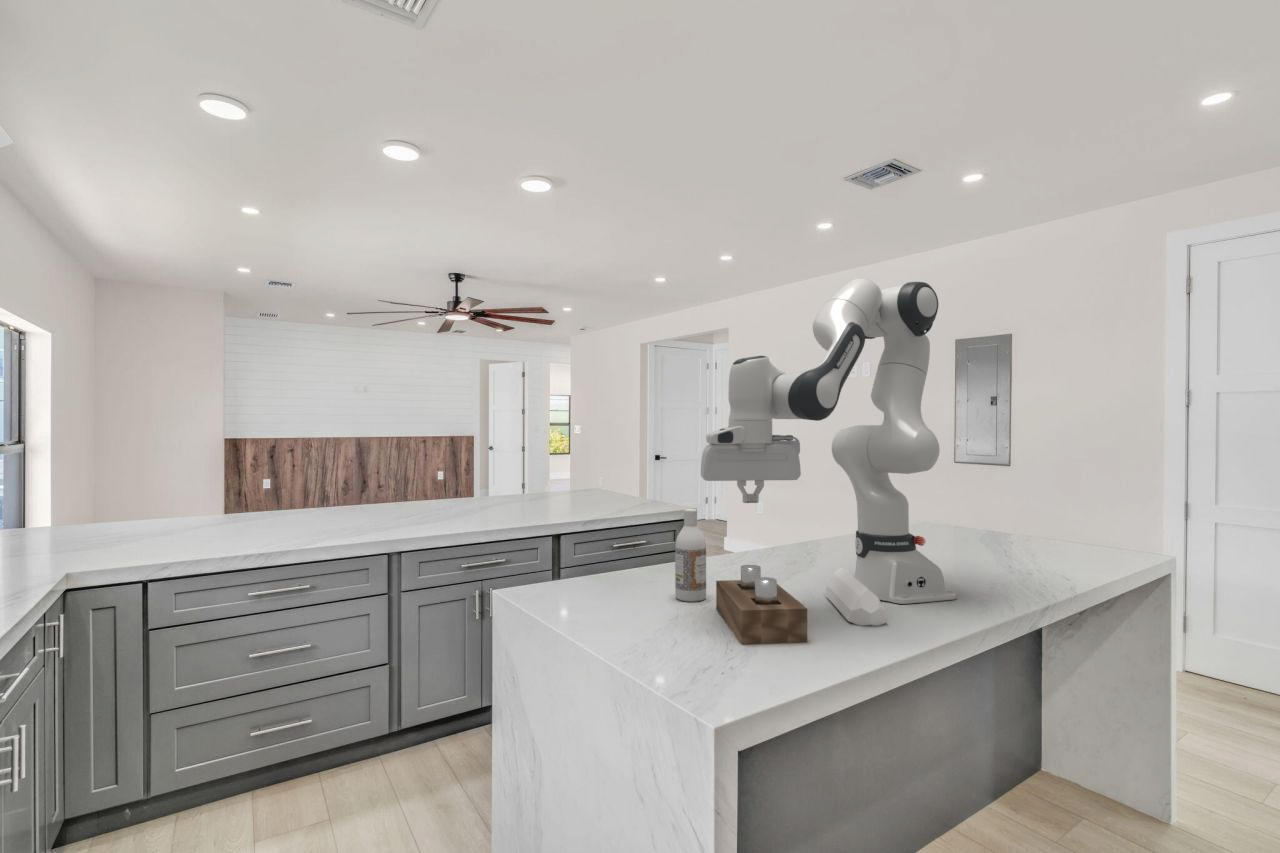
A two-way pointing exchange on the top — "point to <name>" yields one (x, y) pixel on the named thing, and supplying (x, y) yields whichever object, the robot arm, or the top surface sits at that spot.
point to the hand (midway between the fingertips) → (750, 502)
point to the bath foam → (690, 560)
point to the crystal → (855, 600)
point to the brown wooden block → (761, 615)
